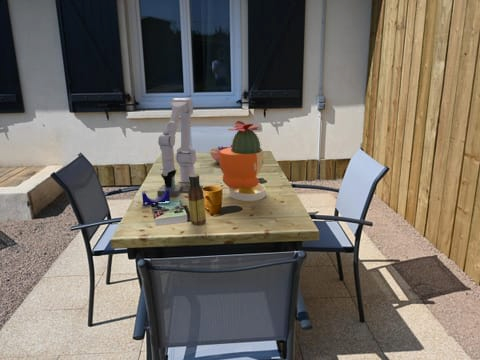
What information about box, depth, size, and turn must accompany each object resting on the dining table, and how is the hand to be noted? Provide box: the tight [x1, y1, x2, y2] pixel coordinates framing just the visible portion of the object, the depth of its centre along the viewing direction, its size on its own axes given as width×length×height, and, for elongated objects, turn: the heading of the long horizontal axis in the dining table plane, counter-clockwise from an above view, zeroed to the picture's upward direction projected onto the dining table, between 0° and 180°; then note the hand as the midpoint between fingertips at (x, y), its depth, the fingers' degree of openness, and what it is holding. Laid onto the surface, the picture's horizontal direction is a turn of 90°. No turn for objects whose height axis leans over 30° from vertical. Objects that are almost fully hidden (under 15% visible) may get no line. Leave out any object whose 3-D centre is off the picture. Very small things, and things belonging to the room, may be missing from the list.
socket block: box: [156, 184, 184, 197], centre depth 203 cm, size 11×10×2 cm
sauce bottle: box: [187, 173, 207, 226], centre depth 162 cm, size 7×6×20 cm
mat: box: [181, 185, 204, 194], centre depth 207 cm, size 9×9×1 cm
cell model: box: [208, 144, 232, 164], centre depth 258 cm, size 17×20×11 cm
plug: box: [164, 176, 176, 189], centre depth 202 cm, size 4×4×8 cm
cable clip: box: [141, 189, 171, 207], centre depth 189 cm, size 12×4×6 cm, turn 106°
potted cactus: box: [219, 120, 266, 202], centre depth 193 cm, size 22×22×35 cm
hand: (170, 186), depth 202 cm, fingers closed on plug, 4 cm apart
